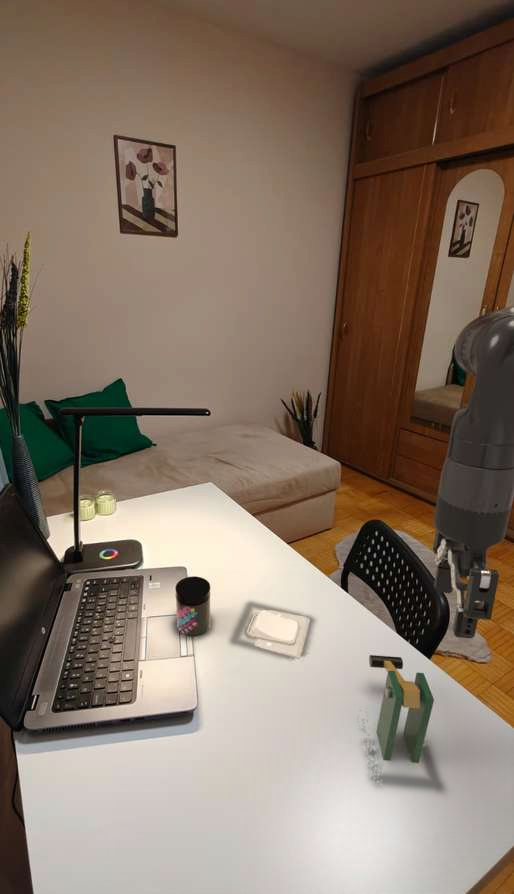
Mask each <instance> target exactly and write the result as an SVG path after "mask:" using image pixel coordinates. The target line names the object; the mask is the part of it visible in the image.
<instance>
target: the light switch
mask: <svg viewBox="0 0 514 894" xmlns="http://www.w3.org/2000/svg"><path fill="white" fill-rule="evenodd" d="M310 621H311V619H310V618H308V617H307V616H303V615H298V614H293V613H288V612H283V611H278V610H271V609H268V610H266V609H262V610H261V611H259V612H255V613H254V614H253V615H252V617H251V620H250V622H249V625H248V628H247V629H246V636H248V637H249V638H253V639H256V640H255V642H254V644H253V646H255V647H258V648H261V649H263V650H266V651H270V652H273V653H277V654H280V655H284V656H287V657H291V658H295V659H301V658H302V654H303V650H304V647H305V646H304V645H305V642H306V637H307V634H308V631H309V625H310V623H311V622H310Z"/></svg>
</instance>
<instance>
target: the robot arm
mask: <svg viewBox="0 0 514 894" xmlns="http://www.w3.org/2000/svg"><path fill="white" fill-rule="evenodd" d="M453 350H454V351H453V354H454V358H455V361H456V363H457V365H458V366H459V367H460V369H461V370H462V371H463V372H464V373H466V374H467V375H469V376H470V377H473V378H475V380H474V384H473V387H472V391H471V394H470V397H469V401H468V403H466V404H464V405H462V406H460V407H459V408H458V409H457V410H456V412H455V413H454V415H453V418H452V421H451V428H450V434H449V439H448V445H447V451H446V456H445V460H444V463H443V466H442V468H441V472H440V478H439V485H438V491H437V497H436V504H435V510H434V516H433V526H434V528H435V530H436V531H435V534H434V535H435V536H434V540H433V545H432V551H433V554H435V564H436V565H437V567H436V571H435V578H434V582H433V588H434V589H435V592H437V593H442V594H450V593H452V592H453V591H455V592H456V610H455V616H454V621H453V624H452V625H453V626H452V632H453V634H454V636H455V637H456V638H461V639H474V638H475V636H476V635H475V634H476V631H477V626H478V622H479V620H484V621H491V619H492V616H493V615H492V614H493V610H494V605H495V599H496V595H497V590H498V583H499V579H500V575H499V571H498V570H497V569H489V568H488V564H489V562H488V561H489V560H488V554H487V550H488V549H489V548H492V547H494V546H496V545H498V544H501V543H502V542H503V541H504V539H506V533H507V528H508V524H509V520H510V515H511V510H512V507H513V506H512V505H513V502H514V305H512V306H508V307H504V308H500V309H496V310H494V311H490V312H488V313H484V314H483V315H480V316H478V317H476V318H475V319H473V320H471V321H470V322H469V323H467V325H465V326H464V327H463V329H462V330H461V331H460V332H459V334H458V335H457V337H456V339H455V343H454V348H453ZM461 579H464V580H467V583H464V582H462V581H461Z"/></svg>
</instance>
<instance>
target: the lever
mask: <svg viewBox="0 0 514 894" xmlns="http://www.w3.org/2000/svg"><path fill="white" fill-rule="evenodd" d="M368 662H369V667H370V668H379V669H385V671H386V672H387V673H388V671H395V673H396V676H397V679H398V682H399V685H400V688H401V691H402V694H403V697H404V698H403V702H402V707H403V708H407V709H409V708H420V690H419V689H418V687H417V686H416V685H415V683H414V682H415V681H411V680H405V679H404V677H403V676H402V674H401V673H400V672H399V671H398V670H403V668H404V662H403V658H402V657H401V656H389V655H374V654H369V657H368Z"/></svg>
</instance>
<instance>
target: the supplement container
mask: <svg viewBox="0 0 514 894" xmlns="http://www.w3.org/2000/svg"><path fill="white" fill-rule="evenodd" d="M175 605H176V606H175V607H176V612H175V613H176V629H177V630H178V632H179V633H180V634H181V635H183V636H185V637H189V638H196V637H200V636H202V635H204V634H207V632H208V631H209V630H210V628H211V584H210V582H209V581H208V580H207V579H206V578H204V577H201V576H196V575H195V576H192V575H191V576H187V577H183V578H182V579H180V580H179V581H178V582H177V583H176V585H175Z"/></svg>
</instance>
